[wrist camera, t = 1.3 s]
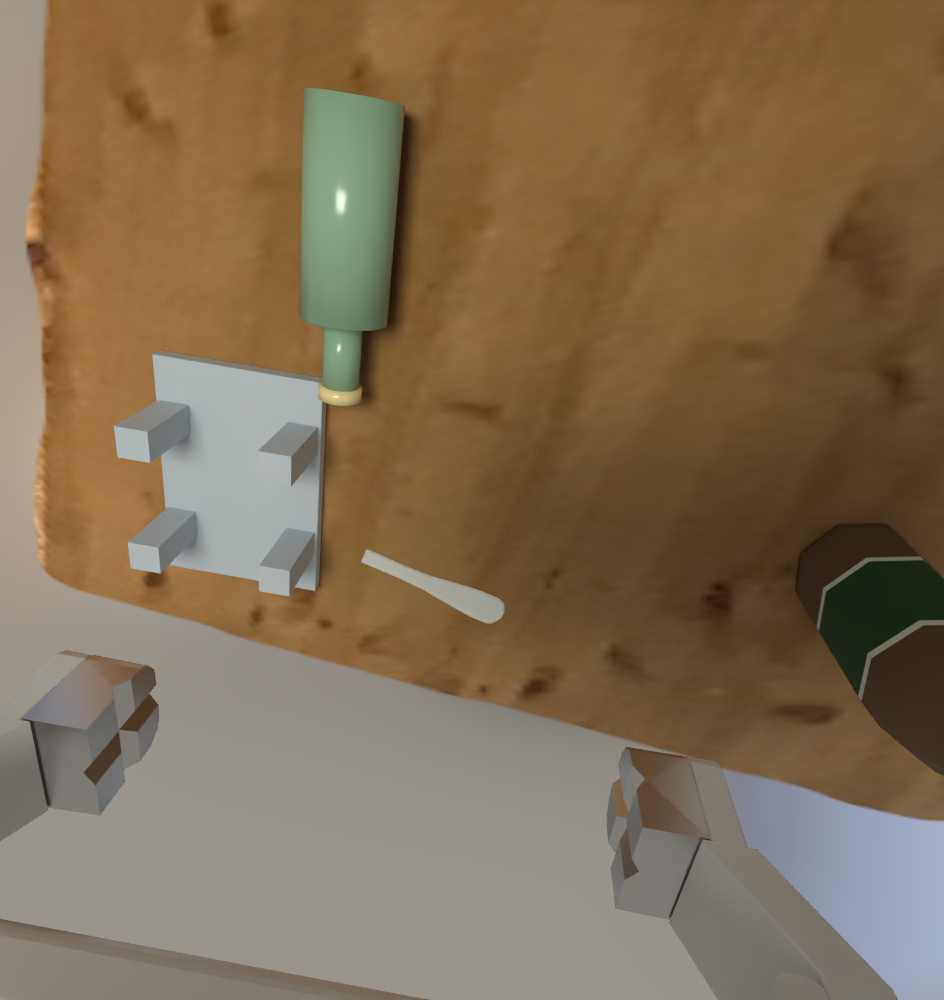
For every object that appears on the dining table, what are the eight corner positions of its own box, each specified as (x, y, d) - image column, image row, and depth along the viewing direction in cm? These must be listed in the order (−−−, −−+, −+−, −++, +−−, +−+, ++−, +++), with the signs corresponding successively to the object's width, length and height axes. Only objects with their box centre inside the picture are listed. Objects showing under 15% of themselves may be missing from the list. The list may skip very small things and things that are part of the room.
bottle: (321, 95, 35) (288, 83, 30) (413, 110, 34) (393, 100, 30) (312, 380, 42) (285, 404, 37) (388, 392, 42) (370, 418, 37)
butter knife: (494, 631, 49) (511, 603, 48) (194, 502, 47) (203, 469, 45) (494, 628, 50) (511, 600, 48) (197, 499, 47) (206, 467, 46)
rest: (160, 350, 42) (104, 375, 36) (327, 378, 42) (295, 408, 36) (177, 557, 49) (132, 604, 44) (319, 583, 49) (291, 633, 43)
